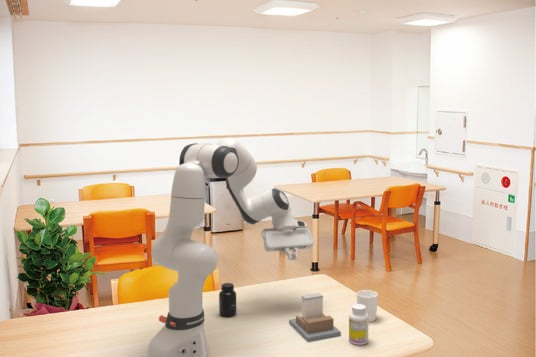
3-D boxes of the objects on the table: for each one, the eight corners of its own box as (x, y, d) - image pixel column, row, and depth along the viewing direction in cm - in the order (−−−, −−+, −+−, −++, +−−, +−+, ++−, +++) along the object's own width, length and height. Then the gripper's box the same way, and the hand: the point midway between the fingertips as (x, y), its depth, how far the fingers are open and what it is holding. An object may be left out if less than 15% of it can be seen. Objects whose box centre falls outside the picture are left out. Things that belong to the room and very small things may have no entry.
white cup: (353, 320, 204) (354, 295, 203) (360, 313, 211) (360, 288, 209) (373, 324, 200) (374, 298, 199) (379, 316, 207) (380, 291, 206)
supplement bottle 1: (236, 317, 208) (235, 287, 206) (218, 317, 208) (217, 288, 206) (237, 310, 215) (236, 281, 213) (220, 310, 215) (219, 281, 213)
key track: (340, 335, 191) (340, 321, 191) (307, 341, 187) (307, 327, 186) (320, 318, 207) (320, 304, 206) (289, 323, 202) (289, 309, 201)
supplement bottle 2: (355, 335, 192) (355, 301, 190) (371, 340, 187) (372, 305, 185) (345, 342, 186) (345, 307, 184) (362, 347, 182) (362, 311, 180)
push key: (323, 323, 198) (323, 295, 196) (305, 326, 195) (305, 298, 194) (319, 319, 201) (319, 292, 199) (301, 322, 198) (301, 295, 197)
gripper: (262, 225, 207) (270, 257, 200) (310, 222, 215) (319, 253, 208) (258, 232, 212) (265, 264, 205) (304, 229, 220) (313, 260, 213)
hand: (293, 259), depth 206 cm, fingers closed
